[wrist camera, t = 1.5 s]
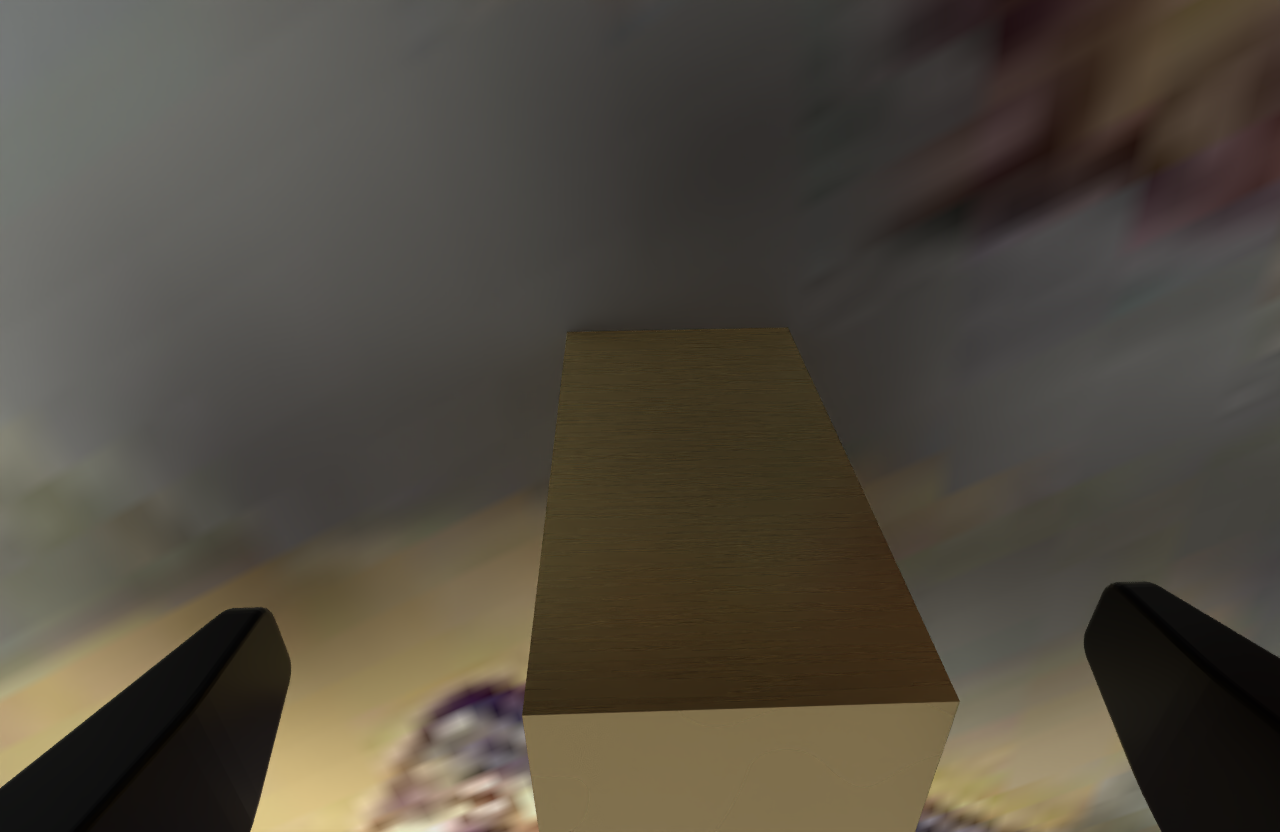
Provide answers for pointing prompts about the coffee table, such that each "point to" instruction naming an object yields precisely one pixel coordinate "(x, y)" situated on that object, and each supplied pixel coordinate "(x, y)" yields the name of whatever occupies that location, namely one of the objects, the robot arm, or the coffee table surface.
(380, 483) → the coffee table surface
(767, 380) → the wooden plank piece
